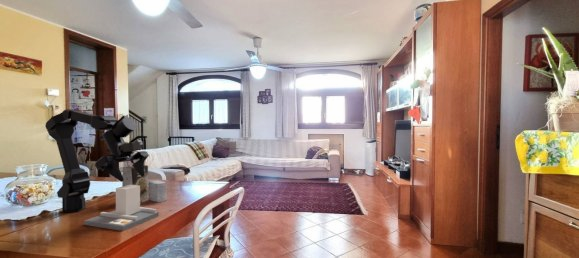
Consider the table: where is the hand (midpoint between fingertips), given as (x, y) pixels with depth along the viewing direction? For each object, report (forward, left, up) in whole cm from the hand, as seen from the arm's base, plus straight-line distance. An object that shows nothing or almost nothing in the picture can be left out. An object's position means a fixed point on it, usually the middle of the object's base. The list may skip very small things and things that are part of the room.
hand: (133, 178), depth 97 cm
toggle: (-2, 0, -13) cm, 13 cm away
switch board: (-3, -2, -15) cm, 15 cm away
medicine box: (+3, +23, -15) cm, 28 cm away
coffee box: (-7, +25, -15) cm, 30 cm away
